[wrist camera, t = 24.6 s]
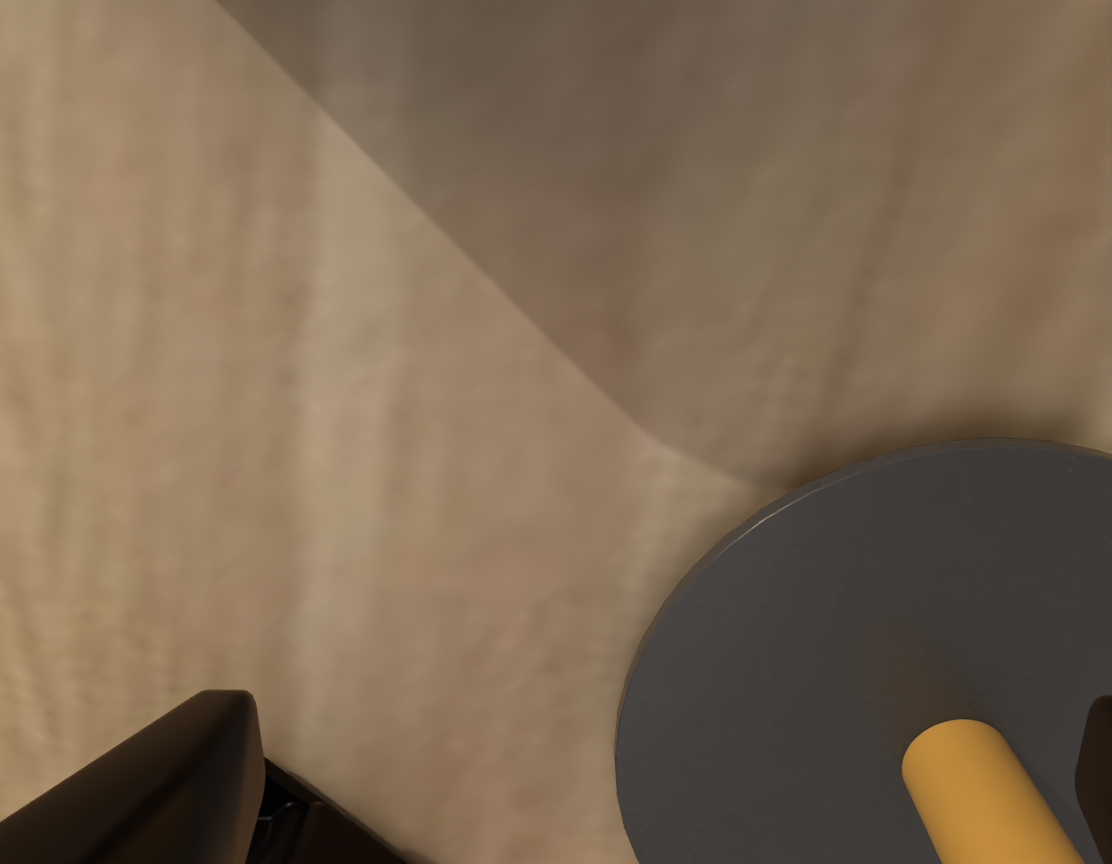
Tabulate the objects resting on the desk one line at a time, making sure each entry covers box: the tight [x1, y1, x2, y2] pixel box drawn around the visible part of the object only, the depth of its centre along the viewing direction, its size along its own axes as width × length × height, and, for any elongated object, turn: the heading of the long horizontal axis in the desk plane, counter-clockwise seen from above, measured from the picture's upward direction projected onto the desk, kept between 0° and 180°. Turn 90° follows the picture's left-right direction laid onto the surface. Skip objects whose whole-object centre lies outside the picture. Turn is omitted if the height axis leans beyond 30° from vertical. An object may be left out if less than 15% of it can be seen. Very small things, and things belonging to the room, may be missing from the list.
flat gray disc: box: [614, 438, 1112, 864], centre depth 20 cm, size 15×15×5 cm
